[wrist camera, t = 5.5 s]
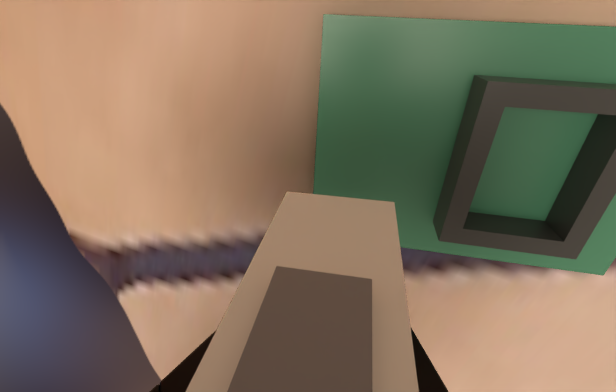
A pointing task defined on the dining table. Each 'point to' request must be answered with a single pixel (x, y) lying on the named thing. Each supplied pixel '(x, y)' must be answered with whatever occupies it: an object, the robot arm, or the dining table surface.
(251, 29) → the dining table surface
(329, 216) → the light grey upright block
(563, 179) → the circuit board
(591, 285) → the dining table surface
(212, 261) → the dining table surface
